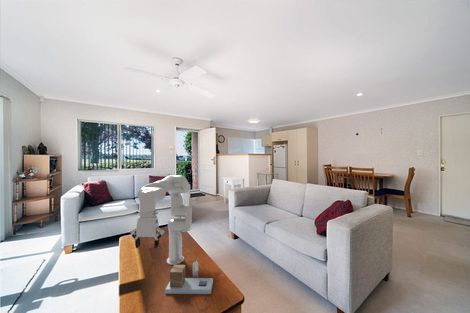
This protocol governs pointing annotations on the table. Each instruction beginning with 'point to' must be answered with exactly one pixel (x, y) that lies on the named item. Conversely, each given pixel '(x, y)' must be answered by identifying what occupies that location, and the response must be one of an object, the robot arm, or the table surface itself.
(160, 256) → the table surface
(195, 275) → the peg
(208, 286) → the board
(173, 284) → the wooden box
